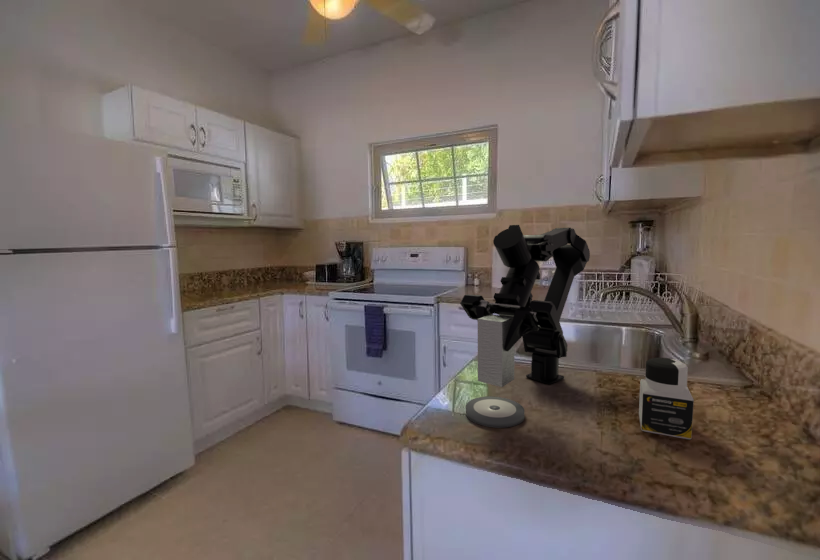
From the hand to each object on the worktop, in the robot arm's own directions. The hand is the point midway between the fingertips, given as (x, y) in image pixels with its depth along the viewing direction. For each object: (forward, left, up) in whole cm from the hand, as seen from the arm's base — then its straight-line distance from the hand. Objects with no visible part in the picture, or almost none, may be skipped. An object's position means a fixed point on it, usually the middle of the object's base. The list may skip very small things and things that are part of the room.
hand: (492, 347), depth 71 cm
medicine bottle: (-20, +21, -14) cm, 33 cm away
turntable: (-1, -1, -13) cm, 13 cm away
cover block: (-1, 0, -7) cm, 7 cm away
